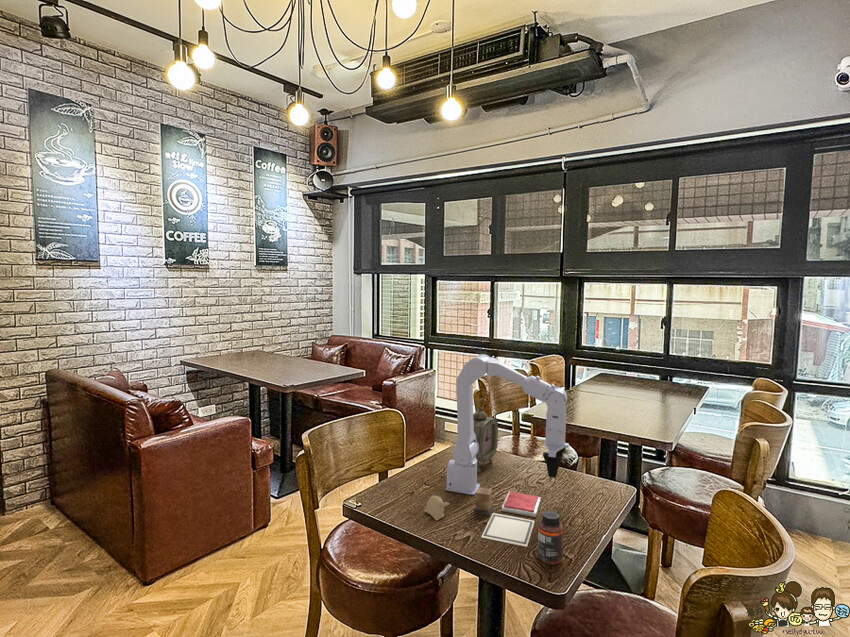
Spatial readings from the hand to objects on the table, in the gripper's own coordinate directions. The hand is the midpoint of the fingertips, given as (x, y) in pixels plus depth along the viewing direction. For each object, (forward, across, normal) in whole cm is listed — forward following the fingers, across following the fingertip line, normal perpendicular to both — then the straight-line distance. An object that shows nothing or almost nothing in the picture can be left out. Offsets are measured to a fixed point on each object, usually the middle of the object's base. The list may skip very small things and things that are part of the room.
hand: (553, 472), depth 146 cm
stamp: (+10, -12, +18) cm, 24 cm away
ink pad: (+10, -5, +8) cm, 14 cm away
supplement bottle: (+10, -30, -3) cm, 32 cm away
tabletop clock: (+10, +20, +29) cm, 37 cm away
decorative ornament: (+10, -20, +30) cm, 38 cm away
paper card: (+10, -20, +9) cm, 24 cm away
